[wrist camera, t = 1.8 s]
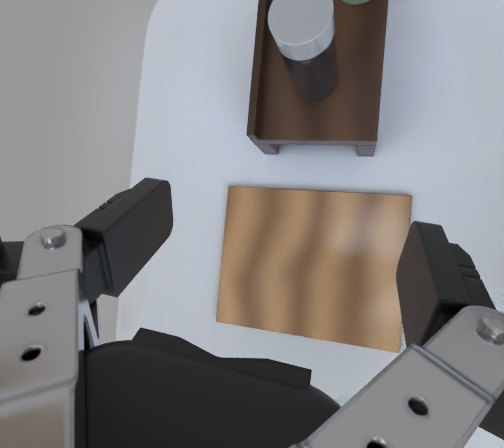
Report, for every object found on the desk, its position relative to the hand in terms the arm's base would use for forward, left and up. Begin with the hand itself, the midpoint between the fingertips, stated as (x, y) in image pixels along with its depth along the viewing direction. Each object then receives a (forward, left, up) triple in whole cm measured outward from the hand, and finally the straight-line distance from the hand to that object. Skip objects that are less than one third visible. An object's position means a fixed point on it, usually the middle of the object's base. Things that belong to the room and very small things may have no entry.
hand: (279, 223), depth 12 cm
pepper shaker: (-3, -15, -22) cm, 26 cm away
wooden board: (+3, +2, -28) cm, 28 cm away
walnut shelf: (-4, -19, -28) cm, 34 cm away
